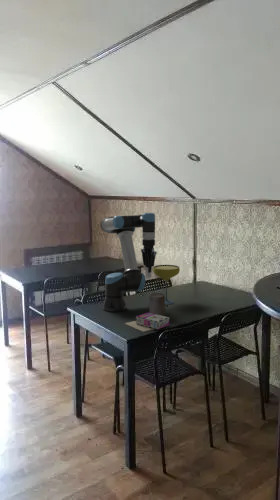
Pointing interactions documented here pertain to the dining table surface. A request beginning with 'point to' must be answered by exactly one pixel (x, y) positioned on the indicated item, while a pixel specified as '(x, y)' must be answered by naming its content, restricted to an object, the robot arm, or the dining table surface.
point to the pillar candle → (157, 303)
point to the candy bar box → (152, 320)
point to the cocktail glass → (166, 275)
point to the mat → (139, 326)
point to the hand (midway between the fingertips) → (148, 277)
